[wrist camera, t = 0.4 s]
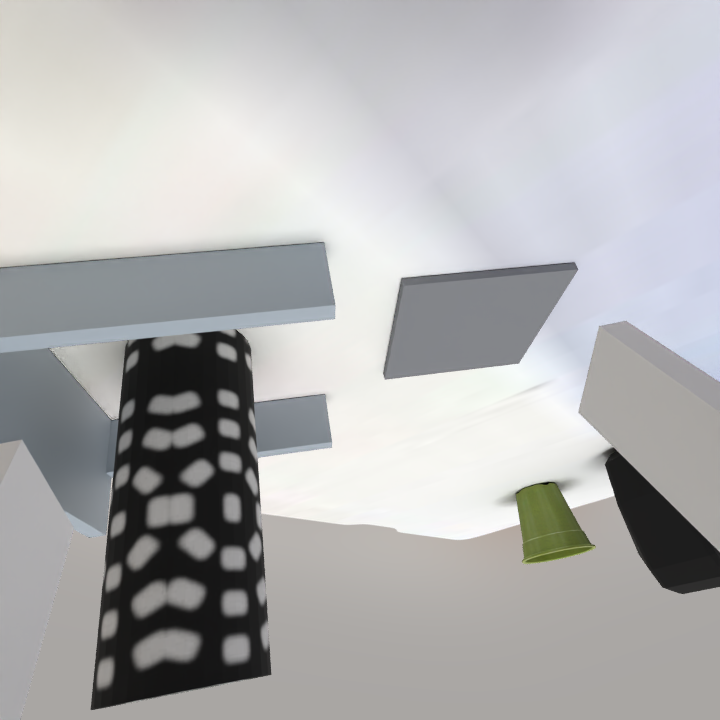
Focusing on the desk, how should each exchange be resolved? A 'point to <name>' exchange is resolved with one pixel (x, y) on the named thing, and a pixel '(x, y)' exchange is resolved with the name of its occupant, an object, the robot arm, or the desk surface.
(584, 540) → the plant pot
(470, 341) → the mat
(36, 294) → the bay
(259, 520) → the spotted tube
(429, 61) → the desk surface
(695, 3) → the desk surface
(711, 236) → the desk surface
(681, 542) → the black hard case
